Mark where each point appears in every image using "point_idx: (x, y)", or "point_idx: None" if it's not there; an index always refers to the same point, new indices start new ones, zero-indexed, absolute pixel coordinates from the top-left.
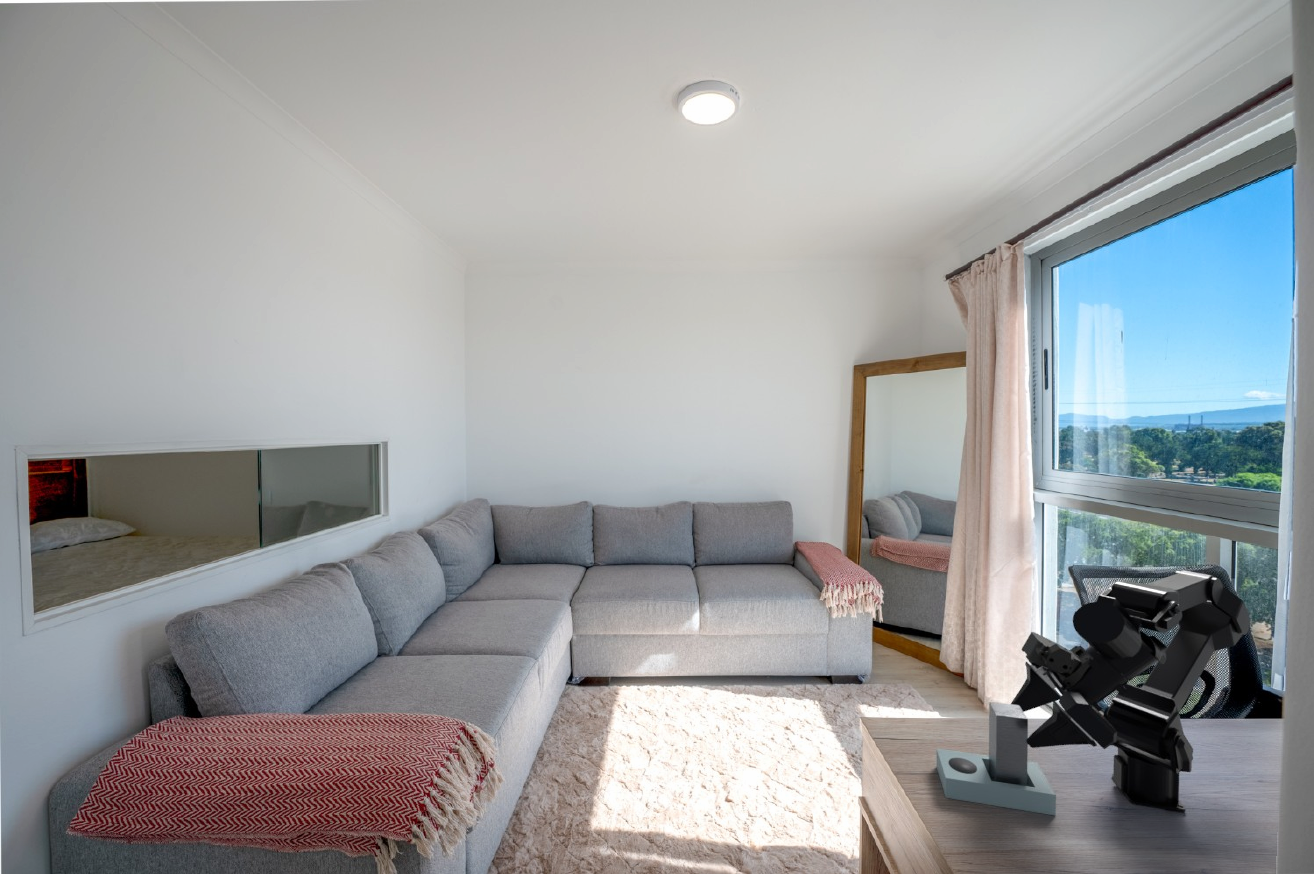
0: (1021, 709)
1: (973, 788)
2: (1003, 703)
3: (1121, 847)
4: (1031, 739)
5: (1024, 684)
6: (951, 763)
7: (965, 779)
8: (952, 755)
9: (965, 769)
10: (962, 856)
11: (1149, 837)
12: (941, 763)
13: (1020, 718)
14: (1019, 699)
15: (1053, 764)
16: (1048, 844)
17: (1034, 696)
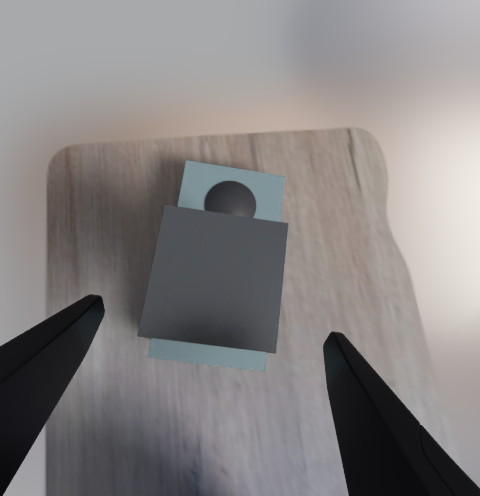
0: (231, 345)
1: None
2: (280, 281)
3: (84, 430)
4: (70, 307)
5: (455, 476)
6: (233, 185)
7: (185, 194)
8: (263, 197)
9: (215, 204)
10: (60, 159)
11: None
12: (232, 168)
13: (144, 302)
14: (356, 388)
15: (326, 424)
16: None
17: (376, 485)
